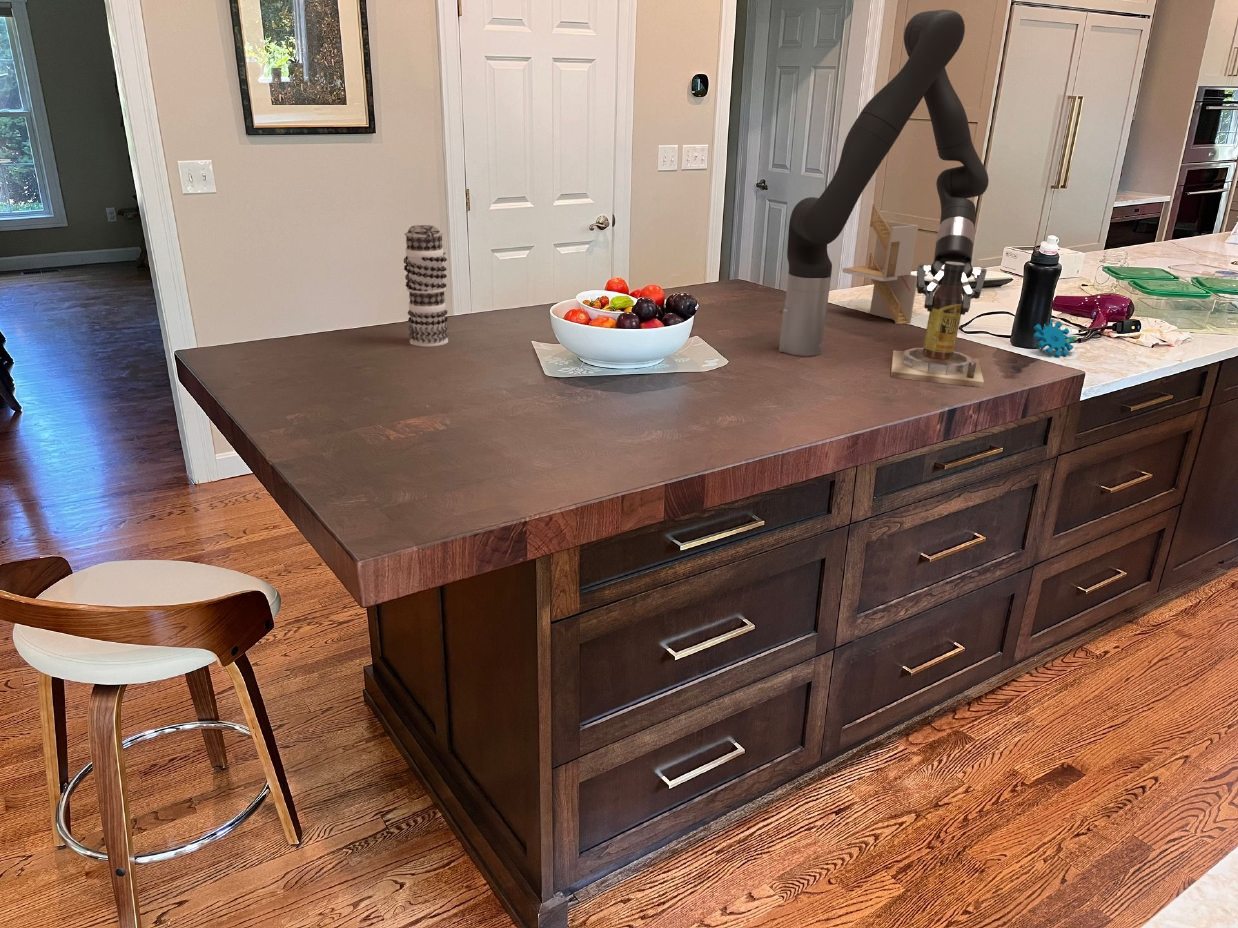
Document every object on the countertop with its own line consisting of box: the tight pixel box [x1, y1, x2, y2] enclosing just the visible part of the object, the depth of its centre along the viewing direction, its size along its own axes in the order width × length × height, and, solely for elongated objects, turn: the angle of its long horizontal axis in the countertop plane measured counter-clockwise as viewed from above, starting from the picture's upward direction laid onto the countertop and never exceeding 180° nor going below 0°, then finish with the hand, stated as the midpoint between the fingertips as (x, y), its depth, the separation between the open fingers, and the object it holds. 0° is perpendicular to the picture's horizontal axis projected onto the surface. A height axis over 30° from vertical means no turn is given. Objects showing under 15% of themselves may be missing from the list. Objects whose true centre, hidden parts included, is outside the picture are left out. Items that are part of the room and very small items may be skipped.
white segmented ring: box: [903, 347, 976, 378], centre depth 188 cm, size 14×14×3 cm
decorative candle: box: [403, 224, 449, 348], centre depth 193 cm, size 9×9×25 cm
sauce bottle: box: [922, 262, 965, 360], centre depth 185 cm, size 7×6×20 cm
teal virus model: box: [1033, 317, 1078, 358], centre depth 207 cm, size 11×6×10 cm
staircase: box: [841, 203, 919, 325], centre depth 228 cm, size 10×16×29 cm, turn 35°
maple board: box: [890, 350, 985, 388], centre depth 189 cm, size 18×18×1 cm
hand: (946, 310), depth 183 cm, fingers closed on sauce bottle, 6 cm apart
